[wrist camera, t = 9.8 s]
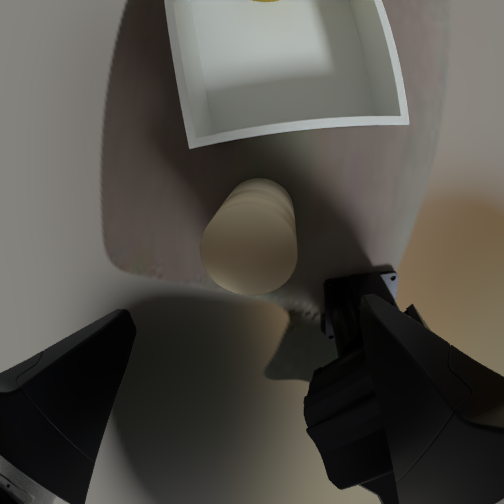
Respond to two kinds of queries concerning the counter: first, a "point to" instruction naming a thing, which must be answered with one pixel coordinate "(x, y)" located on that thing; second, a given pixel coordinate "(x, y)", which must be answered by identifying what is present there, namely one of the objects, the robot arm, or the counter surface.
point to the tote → (283, 66)
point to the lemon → (265, 0)
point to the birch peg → (252, 239)
